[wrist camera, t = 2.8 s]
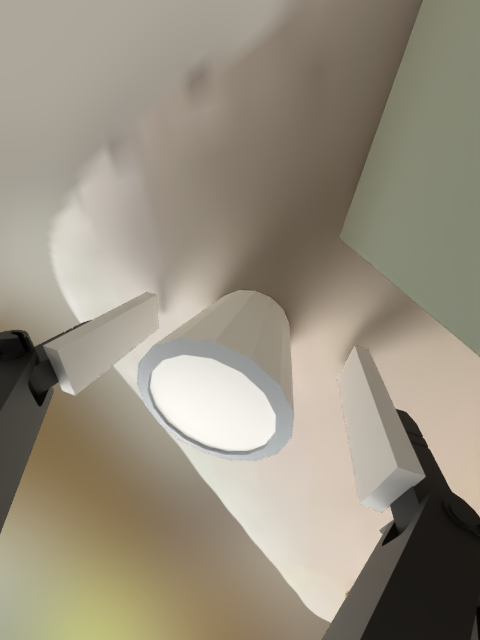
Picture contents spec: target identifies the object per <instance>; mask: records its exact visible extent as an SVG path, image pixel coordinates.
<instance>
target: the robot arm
mask: <svg viewBox="0 0 480 640" xmlns="http://www.w3.org/2000/svg"><path fill="white" fill-rule="evenodd" d="M157 329H159V321H158V308H157V295H156V294H152V293H149V292H146V293H144V294H142V295H140V296H138V297H136V298H134V299H132V300H130V301H128V302H126V303H124V304H123V305H121V306H119V307H117V308H115V309H113V310H111V311H109V312H107V313H105V314H103V315H101V316H99V317H97V318H95V319H93V320H90V321H87V322H83V323H81V324H79V325H78V326H75V327H74V328H73V329H69V330H67V331H66V332H65V333H64V332H63V333H61V334H59V335H57V336H55V337H53V338H51V339H49V340H47V341H45V342H43V343H41V344H39V345H38V346H35V347H34V345H33V343H32V341H31V339H30V337H29V334H28V333H27V332H26V331H22V330H11V331H5V332H1V333H0V533H1V530H2V528H3V525H4V522H5V520H6V517H7V515H8V512H9V509H10V507H11V504H12V501H13V499H14V496H15V493H16V491H17V488H18V485H19V483H20V480H21V477H22V474H23V472H24V469H25V466H26V464H27V461H28V459H29V456H30V454H31V451H32V448H33V445H34V443H35V440H36V437H37V435H38V432H39V430H40V427H41V424H42V422H43V419H44V416H45V414H46V411H47V408H48V406H49V403H50V400H51V398H52V395H53V391H54V389H53V387H52V386H53V385H55V384H56V383H58V382H59V384H60V386H61V389H62V391H65V392H67V393H70V394H73V395H77V394H78V393H79V392H80V391H82V390H83V389H84V388H85V387H86V386H88V385H89V384H90V383H91V382H93V381H94V380H95V379H97V378H98V377H99V376H100V375H102V374H103V373H104V372H105V371H106V370H108V369H109V368H110V367H111V366H113V365H114V364H115V363H116V362H118V361H119V360H120V359H121V358H123V357H124V356H125V355H126V354H128V353H129V352H130V351H131V350H133V349H134V348H135V347H136V346H138V345H139V344H140V343H141V342H143V341H144V340H145V339H146V338H147V337H149V336H150V335H151V334H152V333H154V332H155V331H156V330H157ZM337 382H338V388H339V393H340V399H341V404H342V410H343V415H344V421H345V426H346V432H347V437H348V443H349V448H350V454H351V459H352V465H353V470H354V476H355V481H356V487H357V492H358V498H359V503H360V505H363V506H365V507H368V508H371V509H373V510H376V511H378V512H381V513H382V512H383V511H385V510H386V509H387V508H388V507H389V506H390V507H391V511H392V514H393V518H394V520H393V521H391V522H390V523H388V524H387V525H386V526H384V527H383V528H382V529H381V530H379V531H380V532H381V533H382V534H383V535H382V537H381V539H380V540H379V542H378V544H377V545H376V547H375V549H374V551H373V552H372V554H371V556H370V557H369V559H368V561H367V563H366V564H365V566H364V568H363V569H362V571H361V573H360V575H359V576H358V578H357V580H356V581H355V583H354V585H353V587H352V588H351V590H350V592H349V593H348V595H347V597H346V599H345V600H344V602H343V604H342V606H341V607H340V609H339V611H338V612H337V614H336V616H335V618H334V619H333V621H332V623H331V624H330V626H329V628H328V630H327V631H326V633H325V635H324V636H323V638H322V640H480V517H479V516H478V514H477V513H476V512H475V510H474V509H472V508H471V507H470V506H469V505H468V504H467V503H466V502H465V501H464V500H463V499H461V498H460V497H459V496H457V495H456V494H454V493H453V492H452V491H451V490H450V488H449V486H448V484H447V482H446V480H445V478H444V476H443V474H442V472H441V470H440V468H439V466H438V464H437V463H436V461H435V459H434V457H433V455H432V453H431V451H430V449H428V445H427V443H426V441H425V439H424V438H423V435H422V433H421V432H420V430H419V428H418V426H417V424H416V423H415V422H414V420H413V419H412V418H411V417H410V416H409V415H408V414H407V412H404V411H401V410H398V409H395V407H394V405H393V402H392V400H391V398H390V396H389V393H388V391H387V389H386V387H385V385H384V382H383V380H382V378H381V376H380V373H379V371H378V369H377V367H376V364H375V362H374V360H373V358H372V356H371V353H370V351H369V349H366V348H362V347H358V346H354V347H353V349H352V351H351V353H350V355H349V357H348V359H347V361H346V363H345V365H344V367H343V369H342V371H341V373H340V375H339V377H338V379H337Z"/></svg>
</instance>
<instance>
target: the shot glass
mask: <svg viewBox="0 0 480 640" xmlns="http://www.w3.org/2000/svg"><path fill="white" fill-rule="evenodd" d="M137 385H138V387H139V390H140V393H141V395H142V398H143V401H144V403H145V405H146V407H147V408H148V409H149V411H150V412H151V413H152V414H153V416H154V417H155V418H156V419H157V421H158V422H159V423H160V424H161V425H162V426H163V427H164V428H165V429H167V430H168V431H169V432H170V433H172V434H173V435H174V436H175V437H177V438H178V439H179V440H180V441H182V442H184V443H186V444H188V445H190V446H192V447H194V448H196V449H198V450H200V451H202V452H204V453H206V454H210V455H213V456H217V457H221V458H224V459H228V460H246V461H256V460H259V459H262V458H265V457H268V456H271V455H274V454H277V453H278V452H279V451H280V450H281V449H282V448H283V447H284V446H285V444H286V443H287V442H288V441H289V440H290V439H291V438H292V428H293V417H294V407H293V386H292V364H291V343H290V324H289V322H288V319H287V317H286V314H285V312H284V310H283V309H282V308H281V307H280V306H279V305H278V304H277V303H276V302H275V301H274V300H273V299H272V298H271V297H269V296H267V295H264V294H262V293H260V292H257V291H253V290H237V291H235V292H232V293H229V294H227V295H224V296H223V297H221V298H220V299H219V300H217V301H216V302H214V303H213V304H212V305H210V306H209V307H207V308H206V309H204V310H203V311H202V312H200V313H199V314H197V315H196V316H195V317H193V318H192V319H190V320H189V321H188V322H186V323H185V324H183V325H182V326H180V327H179V328H178V329H176V330H175V331H173V332H172V333H171V334H169V335H168V336H166V337H165V338H163V339H162V340H161V341H159V342H158V343H156V344H155V345H154V346H152V348H151V349H150V350H149V351H148V352H147V354H146V355H145V356H144V357H143V358H142V360H141V361H140V362H139V367H138V378H137Z"/></svg>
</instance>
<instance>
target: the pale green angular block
mask: <svg viewBox="0 0 480 640" xmlns="http://www.w3.org/2000/svg"><path fill="white" fill-rule="evenodd" d="M339 238H340V239H341V240H342V241H343V242H345V243H346V244H347V245H348V246H349V247H351V248H352V249H353V250H354V251H355V252H356V253H358V254H359V255H360V256H361V257H362V258H364V259H365V260H366V261H367V262H368V263H369V264H371V265H372V266H373V267H374V268H375V269H377V270H378V271H379V272H380V273H381V274H382V275H384V276H385V277H386V278H387V279H388V280H390V281H391V282H392V283H393V284H394V285H395V286H397V287H398V288H399V289H400V290H401V291H403V292H404V293H405V294H406V295H407V296H408V297H410V298H411V299H412V300H413V301H414V302H416V303H417V304H418V305H419V306H420V307H421V308H423V309H424V310H425V311H426V312H427V313H429V314H430V315H431V316H432V317H433V318H434V319H436V320H437V321H438V322H439V323H440V324H442V325H443V326H444V327H445V328H446V329H447V330H449V331H450V332H451V333H452V334H453V335H455V336H456V337H457V338H458V339H459V340H460V341H462V342H463V343H464V344H465V345H466V346H468V347H469V348H470V349H471V350H472V351H473V352H475V353H476V354H477V355H478V356H479V357H480V0H423V1H422V4H421V7H420V10H419V12H418V15H417V18H416V21H415V24H414V27H413V29H412V32H411V35H410V38H409V41H408V44H407V46H406V49H405V52H404V55H403V58H402V61H401V63H400V66H399V69H398V72H397V75H396V78H395V80H394V83H393V86H392V89H391V92H390V95H389V97H388V100H387V103H386V106H385V109H384V112H383V114H382V117H381V120H380V123H379V126H378V129H377V132H376V134H375V137H374V140H373V143H372V146H371V149H370V151H369V154H368V157H367V160H366V163H365V166H364V168H363V171H362V174H361V177H360V180H359V183H358V185H357V188H356V191H355V194H354V197H353V200H352V202H351V205H350V208H349V211H348V214H347V217H346V219H345V222H344V225H343V228H342V231H341V234H340V236H339Z"/></svg>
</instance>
